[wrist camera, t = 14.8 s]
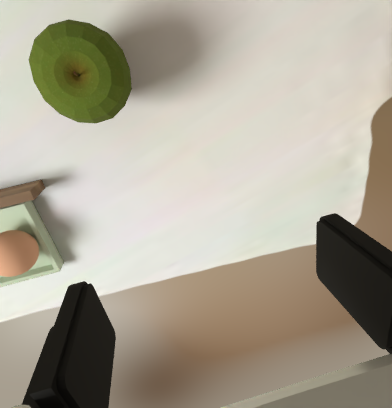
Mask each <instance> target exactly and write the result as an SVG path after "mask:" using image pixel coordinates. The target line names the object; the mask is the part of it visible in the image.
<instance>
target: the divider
mask: <svg viewBox="0 0 392 408" xmlns="http://www.w3.org/2000/svg"><path fill="white" fill-rule="evenodd" d="M44 189H45V186H44V184H43V182H42V180H38V181H33V182H29V183H25V184H21V185H17V186H13V187H8V188H4V189H0V208H2V207H7V206H11V205H15V204H19V203H23V202H27V201H31V200H35V199H36V197H37V196H38V195H39V194H40V193H41V192H42V191H43V190H44Z"/></svg>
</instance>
